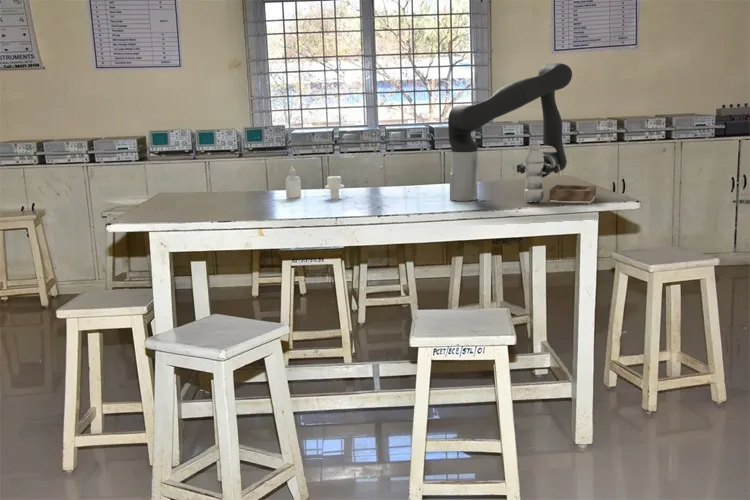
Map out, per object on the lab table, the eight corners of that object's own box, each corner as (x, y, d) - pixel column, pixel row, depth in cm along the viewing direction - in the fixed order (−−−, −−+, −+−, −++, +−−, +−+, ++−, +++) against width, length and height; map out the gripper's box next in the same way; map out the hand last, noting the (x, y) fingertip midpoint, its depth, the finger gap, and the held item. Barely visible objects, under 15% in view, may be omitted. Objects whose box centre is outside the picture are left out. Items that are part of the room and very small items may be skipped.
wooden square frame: (549, 202, 253) (549, 189, 252) (556, 197, 265) (557, 184, 264) (590, 204, 248) (590, 190, 247) (595, 198, 260) (596, 185, 259)
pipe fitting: (333, 200, 273) (332, 178, 271) (322, 198, 279) (321, 176, 277) (347, 198, 277) (346, 176, 275) (336, 196, 282) (336, 175, 281)
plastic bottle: (538, 204, 250) (539, 145, 246) (520, 203, 254) (521, 144, 250) (546, 202, 255) (548, 143, 251) (528, 200, 259) (529, 143, 255)
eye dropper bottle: (301, 198, 280) (299, 166, 277) (286, 199, 279) (284, 167, 277) (301, 196, 284) (299, 165, 281) (286, 197, 283) (284, 166, 281)
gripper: (524, 155, 269) (513, 159, 254) (563, 155, 263) (555, 159, 249) (523, 175, 270) (513, 181, 256) (563, 176, 265) (554, 182, 250)
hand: (534, 170), depth 252 cm, fingers open, 8 cm apart
